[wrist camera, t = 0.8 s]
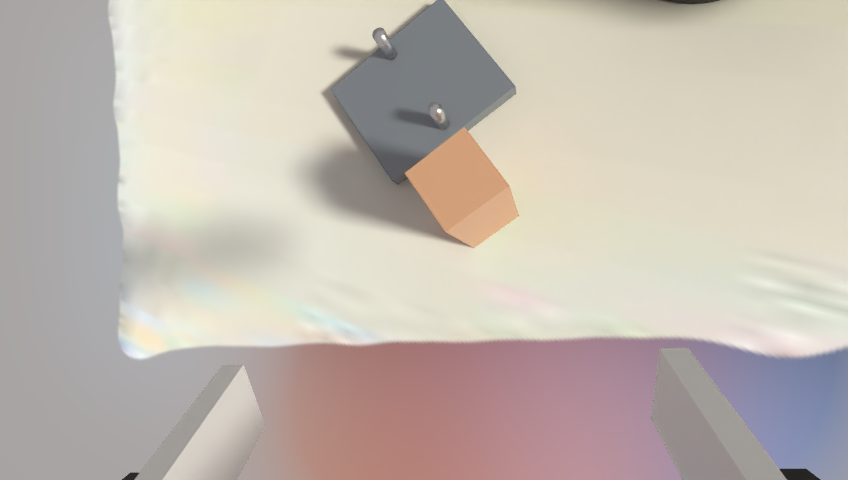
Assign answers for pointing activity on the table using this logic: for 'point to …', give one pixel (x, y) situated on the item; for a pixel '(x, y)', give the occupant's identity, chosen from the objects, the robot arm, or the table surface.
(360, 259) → the table surface
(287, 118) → the table surface
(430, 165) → the case
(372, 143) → the pin tray
